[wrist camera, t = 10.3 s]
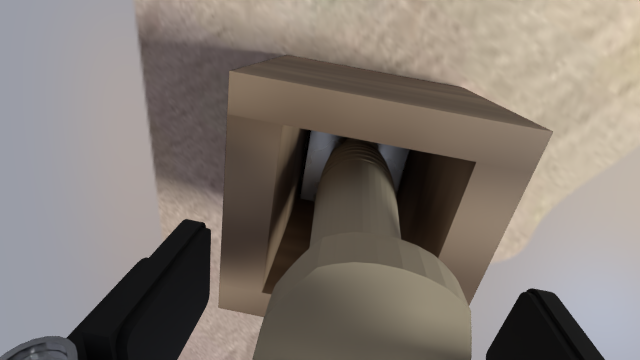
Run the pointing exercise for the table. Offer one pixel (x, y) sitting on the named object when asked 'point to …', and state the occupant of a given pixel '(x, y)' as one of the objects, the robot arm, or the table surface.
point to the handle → (363, 279)
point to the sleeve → (375, 126)
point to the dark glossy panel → (322, 149)
